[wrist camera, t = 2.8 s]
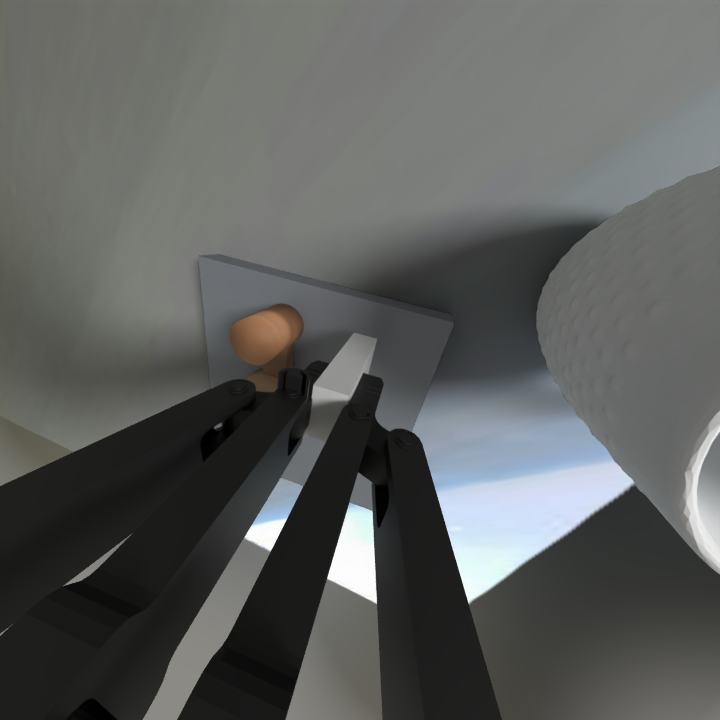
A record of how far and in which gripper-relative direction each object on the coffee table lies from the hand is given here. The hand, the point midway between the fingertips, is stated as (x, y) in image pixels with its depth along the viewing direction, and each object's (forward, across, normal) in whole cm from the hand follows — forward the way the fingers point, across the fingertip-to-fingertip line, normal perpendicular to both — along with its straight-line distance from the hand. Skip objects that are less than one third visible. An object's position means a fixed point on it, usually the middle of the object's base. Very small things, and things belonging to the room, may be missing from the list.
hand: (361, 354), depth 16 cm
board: (+4, -4, -7) cm, 9 cm away
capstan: (+2, -6, -7) cm, 9 cm away
